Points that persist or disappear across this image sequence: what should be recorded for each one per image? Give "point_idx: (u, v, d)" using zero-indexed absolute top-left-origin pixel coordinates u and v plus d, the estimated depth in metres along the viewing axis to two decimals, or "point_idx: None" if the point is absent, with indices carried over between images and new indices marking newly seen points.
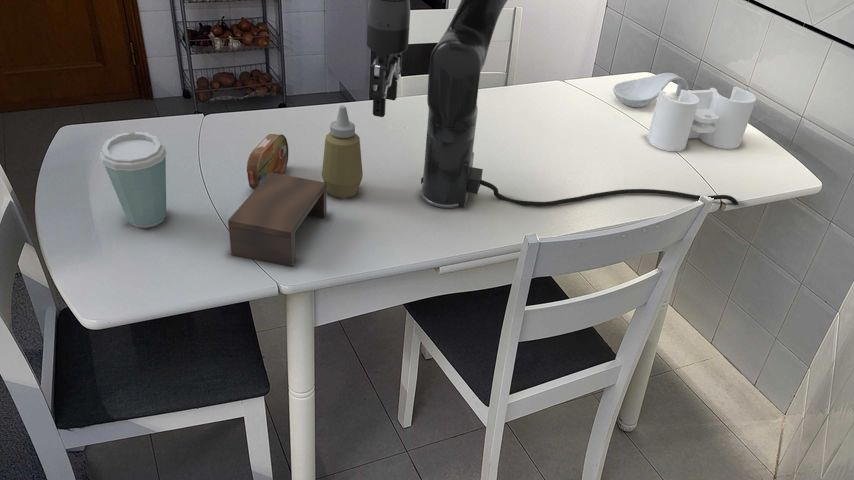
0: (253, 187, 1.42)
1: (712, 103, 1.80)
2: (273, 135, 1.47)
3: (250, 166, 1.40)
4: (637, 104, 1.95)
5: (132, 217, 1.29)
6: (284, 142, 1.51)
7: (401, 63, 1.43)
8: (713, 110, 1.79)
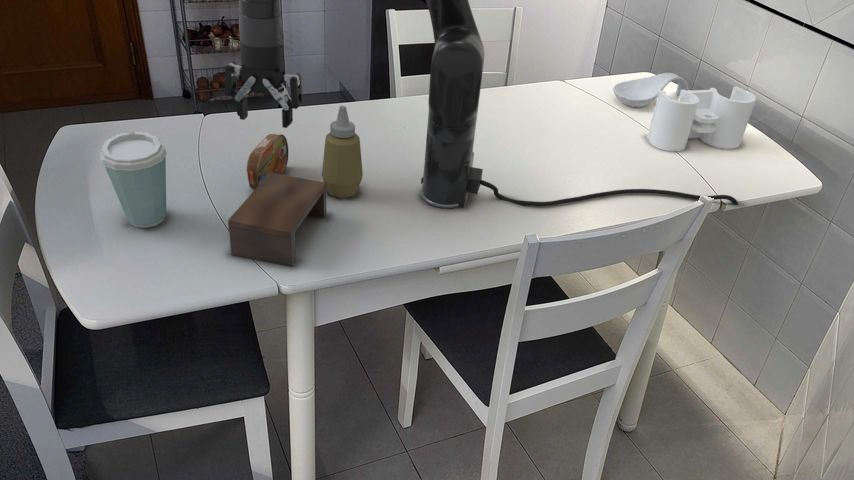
0: (253, 187, 1.42)
1: (712, 103, 1.80)
2: (273, 135, 1.47)
3: (250, 166, 1.40)
4: (637, 104, 1.95)
5: (132, 217, 1.29)
6: (284, 142, 1.51)
7: (295, 98, 1.36)
8: (713, 110, 1.79)
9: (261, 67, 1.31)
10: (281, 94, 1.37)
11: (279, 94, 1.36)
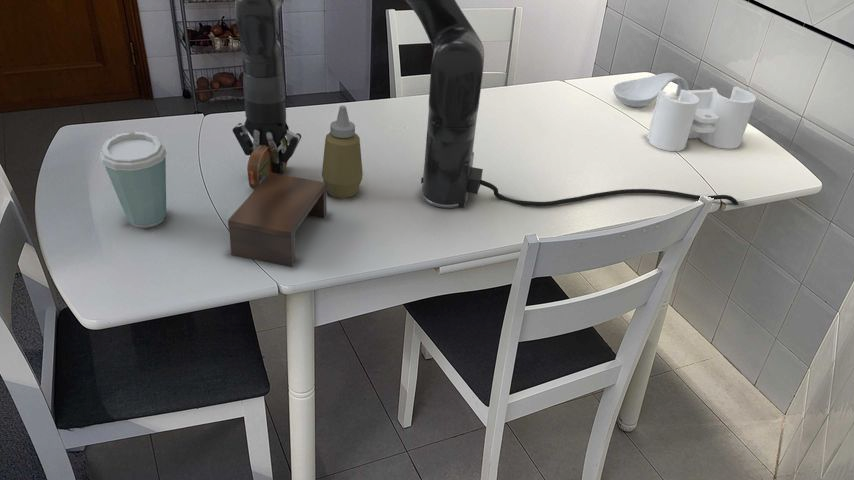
0: (253, 187, 1.42)
1: (712, 103, 1.80)
2: None
3: (251, 166, 1.40)
4: (637, 104, 1.95)
5: (132, 217, 1.29)
6: (284, 142, 1.51)
7: (288, 154, 1.43)
8: (713, 110, 1.79)
9: (265, 122, 1.38)
10: (277, 149, 1.43)
11: (276, 149, 1.43)
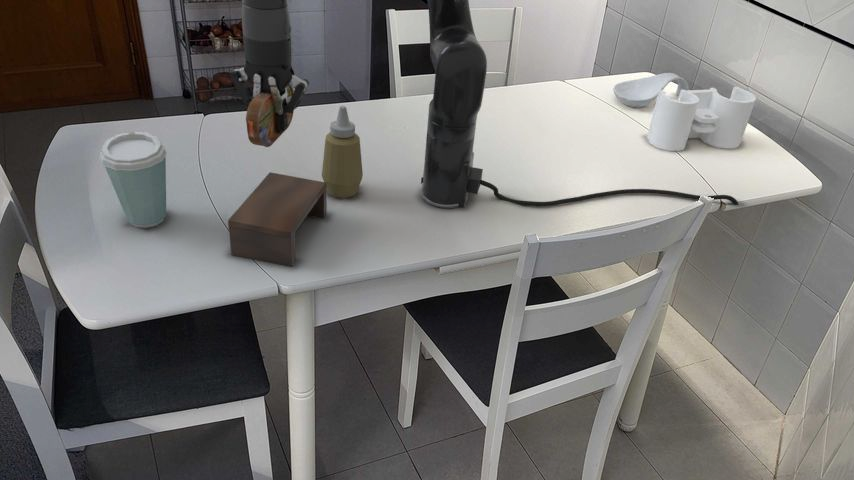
0: (253, 140, 1.24)
1: (712, 103, 1.80)
2: None
3: (250, 115, 1.21)
4: (637, 104, 1.95)
5: (132, 217, 1.29)
6: (289, 92, 1.32)
7: (294, 104, 1.24)
8: (713, 110, 1.80)
9: (266, 63, 1.19)
10: (281, 97, 1.25)
11: (279, 97, 1.24)
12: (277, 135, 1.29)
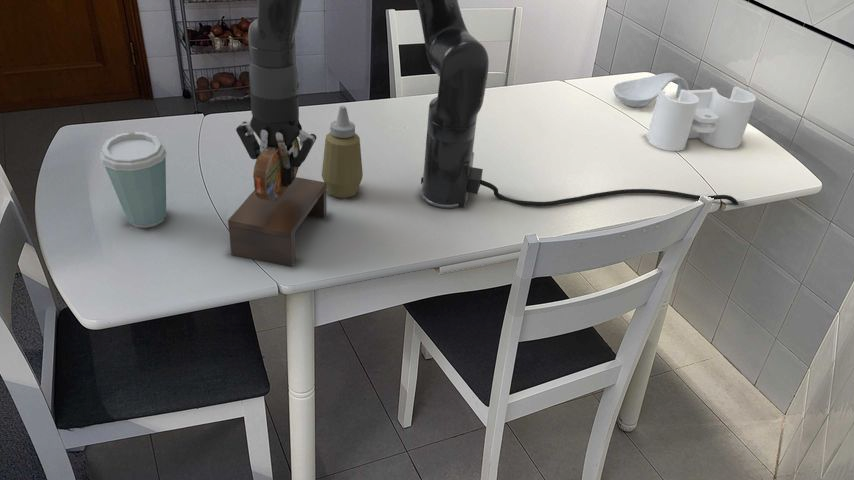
0: (260, 196, 1.22)
1: (712, 103, 1.80)
2: None
3: (257, 172, 1.19)
4: (637, 104, 1.95)
5: (132, 217, 1.29)
6: (295, 144, 1.31)
7: (301, 158, 1.23)
8: (713, 110, 1.80)
9: (274, 120, 1.17)
10: (288, 152, 1.23)
11: (287, 152, 1.22)
12: (284, 188, 1.28)
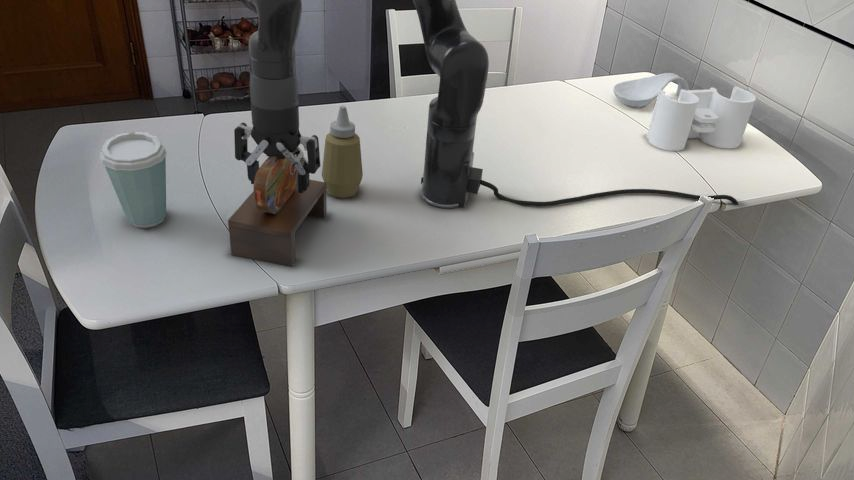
0: (261, 209, 1.23)
1: (712, 103, 1.80)
2: None
3: (257, 185, 1.21)
4: (637, 104, 1.95)
5: (132, 217, 1.29)
6: None
7: (313, 162, 1.23)
8: (713, 110, 1.80)
9: (275, 131, 1.18)
10: (297, 158, 1.23)
11: (295, 158, 1.23)
12: (284, 200, 1.29)
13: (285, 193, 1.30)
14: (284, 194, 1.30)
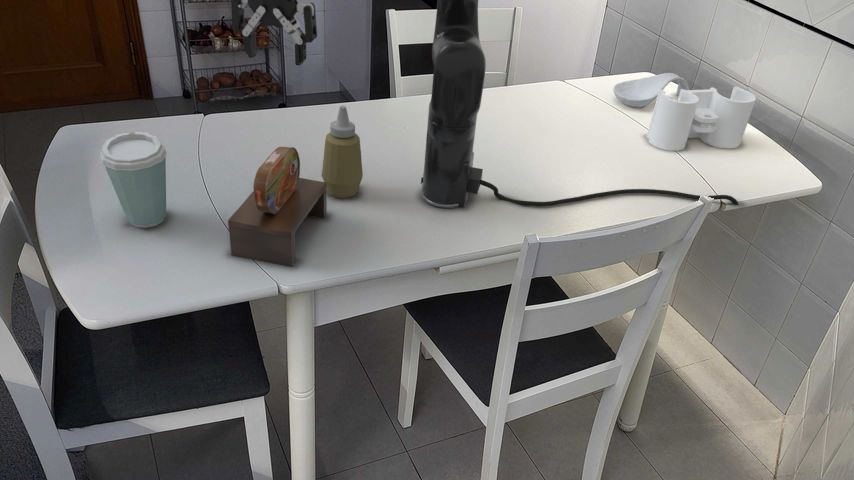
0: (261, 209, 1.23)
1: (712, 103, 1.80)
2: (283, 148, 1.28)
3: (257, 185, 1.21)
4: (637, 104, 1.95)
5: (132, 217, 1.29)
6: (295, 156, 1.32)
7: (310, 30, 1.23)
8: (713, 110, 1.80)
9: None
10: (294, 26, 1.24)
11: (292, 26, 1.23)
12: (284, 200, 1.29)
13: (285, 194, 1.30)
14: (284, 194, 1.30)
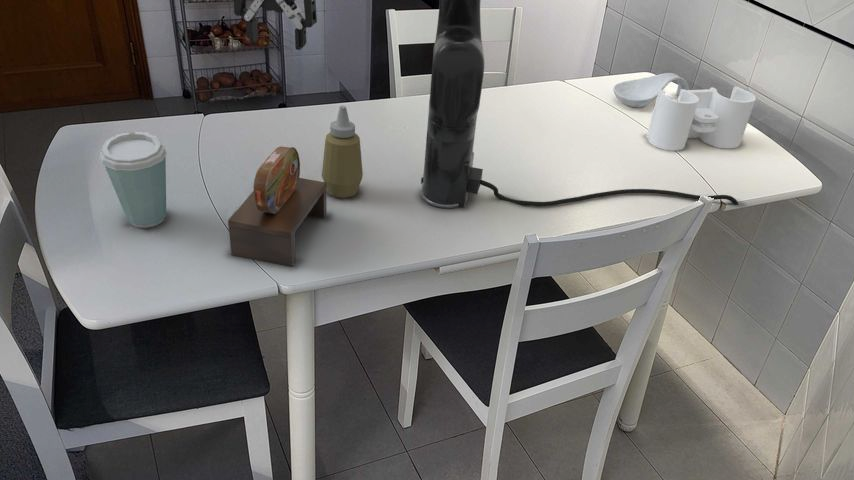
0: (261, 209, 1.23)
1: (712, 103, 1.80)
2: (283, 148, 1.28)
3: (257, 185, 1.21)
4: (637, 104, 1.95)
5: (132, 217, 1.29)
6: (295, 156, 1.32)
7: (309, 15, 1.27)
8: (713, 110, 1.80)
9: None
10: (294, 11, 1.27)
11: (292, 11, 1.27)
12: (284, 200, 1.29)
13: (285, 193, 1.30)
14: (284, 194, 1.30)
